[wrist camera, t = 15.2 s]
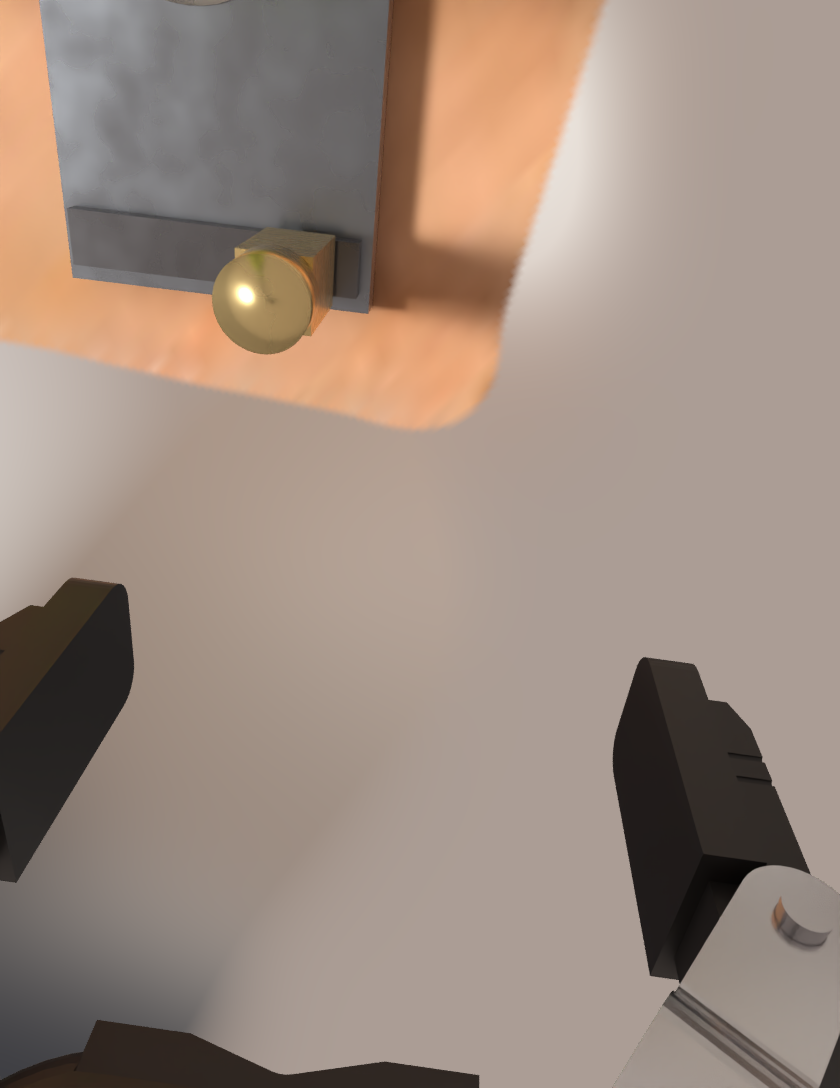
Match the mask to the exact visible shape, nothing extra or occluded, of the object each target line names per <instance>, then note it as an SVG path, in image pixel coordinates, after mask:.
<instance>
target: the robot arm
mask: <svg viewBox="0 0 840 1088" xmlns="http://www.w3.org/2000/svg"><path fill="white" fill-rule="evenodd" d="M133 673H134V658H133V648H132V636H131V625H130V614H129V603H128V595H127V591H126V589H125V587H124V586H123V585H122V584H115V583H109V582H102V581H94V580H87V579H80V578H70V579H69V580H67V581H66V582H65V583H64V584H63V585H62V587H61V588H60V589H59V590H58V591H57V592H56V593H55V595H54V596H53V597H52V598H51V599H50V600H49V601H48V602H47V604H46V605H45V606H44V607H40V606H33V605H30V606H28V607H26V608H25V609H23V610H21V611H19V612H17V613H16V614H14V615H12V616H10V617H9V618H7V619H5V620H3V621H1V622H0V880H1V881H9V882H15V883H16V882H17V881H18V879H19V877H20V876H21V874H22V873H23V871H24V869H25V868H26V866H27V864H28V863H29V861H30V859H31V858H32V856H33V854H34V852H35V851H36V849H37V848H38V846H39V845H40V843H41V841H42V840H43V838H44V836H45V835H46V833H47V831H48V830H49V828H50V826H51V825H52V823H53V821H54V820H55V818H56V816H57V815H58V813H59V812H60V810H61V808H62V807H63V805H64V803H65V802H66V800H67V798H68V797H69V795H70V793H71V792H72V790H73V788H74V787H75V785H76V784H77V782H78V780H79V778H80V777H81V775H82V774H83V772H84V770H85V769H86V767H87V765H88V764H89V762H90V760H91V759H92V757H93V755H94V754H95V752H96V750H97V749H98V747H99V746H100V744H101V742H102V741H103V739H104V737H105V735H106V734H107V732H108V731H109V729H110V727H111V726H112V724H113V723H114V721H115V719H116V717H117V716H118V714H119V713H120V711H121V709H122V708H123V706H124V704H125V702H126V700H127V698H128V695H129V693H130V689H131V685H132V680H133ZM613 773H614V779H615V785H616V790H617V795H618V801H619V807H620V812H621V818H622V823H623V829H624V834H625V839H626V845H627V851H628V856H629V862H630V867H631V873H632V878H633V884H634V889H635V895H636V901H637V906H638V912H639V917H640V923H641V928H642V933H643V939H644V945H645V950H646V956H647V961H648V967H649V972H650V976H655V977H662V978H669V979H676V980H679V983H680V985H679V987H678V988H677V990H676V991H675V992H674V991H672V992H671V993H670V995H669V996H668V997H667V999H666V1000H665V1002H664V1003H663V1005H662V1007H661V1008H660V1010H659V1012H658V1013H657V1015H656V1017H655V1018H654V1020H653V1021H652V1023H651V1025H650V1026H649V1028H648V1029H647V1031H646V1033H645V1034H644V1036H643V1038H642V1039H641V1041H640V1043H639V1044H638V1046H637V1047H636V1049H635V1051H634V1053H633V1054H632V1056H631V1057H630V1059H629V1061H628V1062H627V1064H626V1065H625V1067H624V1069H623V1070H622V1072H621V1074H620V1075H619V1077H618V1079H617V1080H616V1082H615V1083H614V1085H613V1087H612V1088H840V894H839V893H838V892H836V891H835V890H834V889H833V888H832V887H830V886H829V885H827V884H826V883H824V882H823V881H821V880H819V879H818V878H816V877H814V876H812V875H811V874H810V871H809V869H808V867H807V864H806V862H805V859H804V857H803V855H802V852H801V850H800V847H799V845H798V842H797V840H796V837H795V835H794V833H793V830H792V828H791V825H790V823H789V821H788V818H787V816H786V813H785V811H784V808H783V806H782V803H781V801H780V799H779V796H778V794H777V791H776V789H775V787H774V786H772V784H771V783H772V779H771V777H770V774H769V772H768V770H767V767H766V765H765V763H763V762H762V755H761V753H760V750H759V748H758V745H757V743H756V740H755V738H754V736H753V733H752V731H751V729H750V728H749V727H748V725H747V724H746V723H745V722H744V721H743V720H742V719H741V718H740V717H739V715H738V714H737V713H736V712H735V711H734V710H733V709H732V708H731V707H730V706H729V705H728V703H726V702H720V701H712V700H708V697H707V695H706V692H705V689H704V686H703V683H702V681H701V678H700V675H699V672H698V670H697V668H696V667H695V665H693V664H689V663H682V662H675V661H668V660H660V659H653V658H646V657H644V658H642V659H641V660H640V661H639V663H638V665H637V668H636V671H635V674H634V677H633V680H632V684H631V687H630V690H629V693H628V697H627V699H626V703H625V706H624V709H623V712H622V715H621V718H620V722H619V725H618V728H617V732H616V735H615V740H614V748H613ZM0 1088H479V1075H473V1074H467V1073H460V1072H453V1071H446V1070H439V1069H432V1068H425V1067H418V1066H411V1065H404V1064H398V1063H391V1062H379V1063H372V1064H364V1065H357V1066H350V1067H343V1068H335V1069H328V1070H321V1071H314V1072H306V1073H299V1074H292V1075H283V1074H278V1073H275V1072H271V1071H270V1070H267V1069H265V1068H263V1067H261V1066H259V1065H257V1064H255V1063H253V1062H250V1061H248V1060H246V1059H244V1058H242V1057H240V1056H238V1055H235V1054H233V1053H231V1052H229V1051H227V1050H225V1049H223V1048H220V1047H218V1046H216V1045H214V1044H212V1043H210V1042H208V1041H206V1040H203V1039H201V1038H199V1037H197V1036H195V1035H193V1034H191V1033H183V1032H177V1031H169V1030H163V1029H156V1028H149V1027H142V1026H136V1025H129V1024H122V1023H114V1022H107V1021H101V1020H97V1021H96V1024H95V1026H94V1028H93V1031H92V1033H91V1035H90V1038H89V1040H88V1042H87V1045H86V1047H85V1049H84V1052H79V1053H72V1054H68V1055H64V1056H60V1057H57V1058H53V1059H49V1060H46V1061H43V1062H40V1063H38V1064H35V1065H33V1066H30V1067H27V1068H25V1069H22V1070H20V1071H18V1072H16V1073H14V1074H12V1075H10V1076H8V1077H6V1078H4V1079H2V1080H0Z"/></svg>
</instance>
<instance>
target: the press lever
mask: <svg viewBox="0 0 840 1088" xmlns="http://www.w3.org/2000/svg"><path fill="white" fill-rule="evenodd" d="M335 238H336V235H329V234H321V233H313V232H305V231H296V230H288V229H280V228H272V227H266V228H264V229H263V230H261V231H260V232H258V233H257V234H255V235H254V236H252V237H251V238H249V239H248V240H246V241H244V242H243V243H241V244H240V245H238V246H237V247H235V259H233V260H232V261H230V262H229V263H228V264H227V265H225V267H224V268H223V269H222V270H221V271H220V273H219V274H218V276H217V278H216V280H215V283H214V286H213V292H212V304H213V310H214V314H215V316H216V319H217V321H218V323H219V325H220V327H221V328H222V330H223V331H224V333H225V334H226V335H227V336H228V337H229V338H230V339H231V340H232V341H233V342H234V343H236V344H237V345H238V346H240V347H242V348H244V349H246V350H248V351H251V352H254V353H259V354H275V353H279V352H282V351H285V350H287V349H289V348H290V347H292V346H293V345H294V344H295V343H296V342H298V341H299V339H300V338H301V337H302V335H305V336H311V335H312V334H313V333H314V331H315V330H316V328H317V327H318V325H319V324H320V323H321V321H322V320H323V318H324V317H325V315H326V314H327V313H328V311H329V310H330V308H331V307H332V305H333V284H334V261H335Z"/></svg>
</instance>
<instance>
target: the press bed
mask: <svg viewBox="0 0 840 1088" xmlns="http://www.w3.org/2000/svg"><path fill="white" fill-rule="evenodd" d="M393 2H394V0H39V3H40V11H41V19H42V27H43V35H44V44H45V52H46V60H47V68H48V77H49V85H50V93H51V101H52V110H53V118H54V126H55V134H56V142H57V151H58V159H59V167H60V175H61V184H62V192H63V200H64V208H65V216H66V225H67V233H68V241H69V249H70V258H71V266H72V274H73V278H81V279H89V280H97V281H105V282H113V283H122V284H130V285H138V286H146V287H154V288H162V289H170V290H179V291H187V292H195V293H203V294H211V295H212V292H213V286H214V283H215V280H216V278H217V276H218V274H219V273H220V271H221V270H222V269H223V268H224V267H225V265H227V264H228V263H229V262H230V261H232V260H233V259H235V247H237V246H238V245H240V244H241V243H243V242H244V241H246V240H248V239H249V238H251V237H252V236H254V235H255V234H257V233H258V232H260V231H261V230H263V229H264V228H266V227H272V228H280V229H288V230H296V231H305V232H313V233H321V234H329V235H336V238H335V261H334V284H333V305H332V307H331V308H330V309H333V310H341V311H350V312H358V313H366V314H368V313H369V311H370V309H371V308H372V304H373V289H374V275H375V261H376V246H377V232H378V218H379V203H380V189H381V174H382V160H383V146H384V131H385V117H386V103H387V88H388V74H389V59H390V45H391V31H392V16H393Z"/></svg>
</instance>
